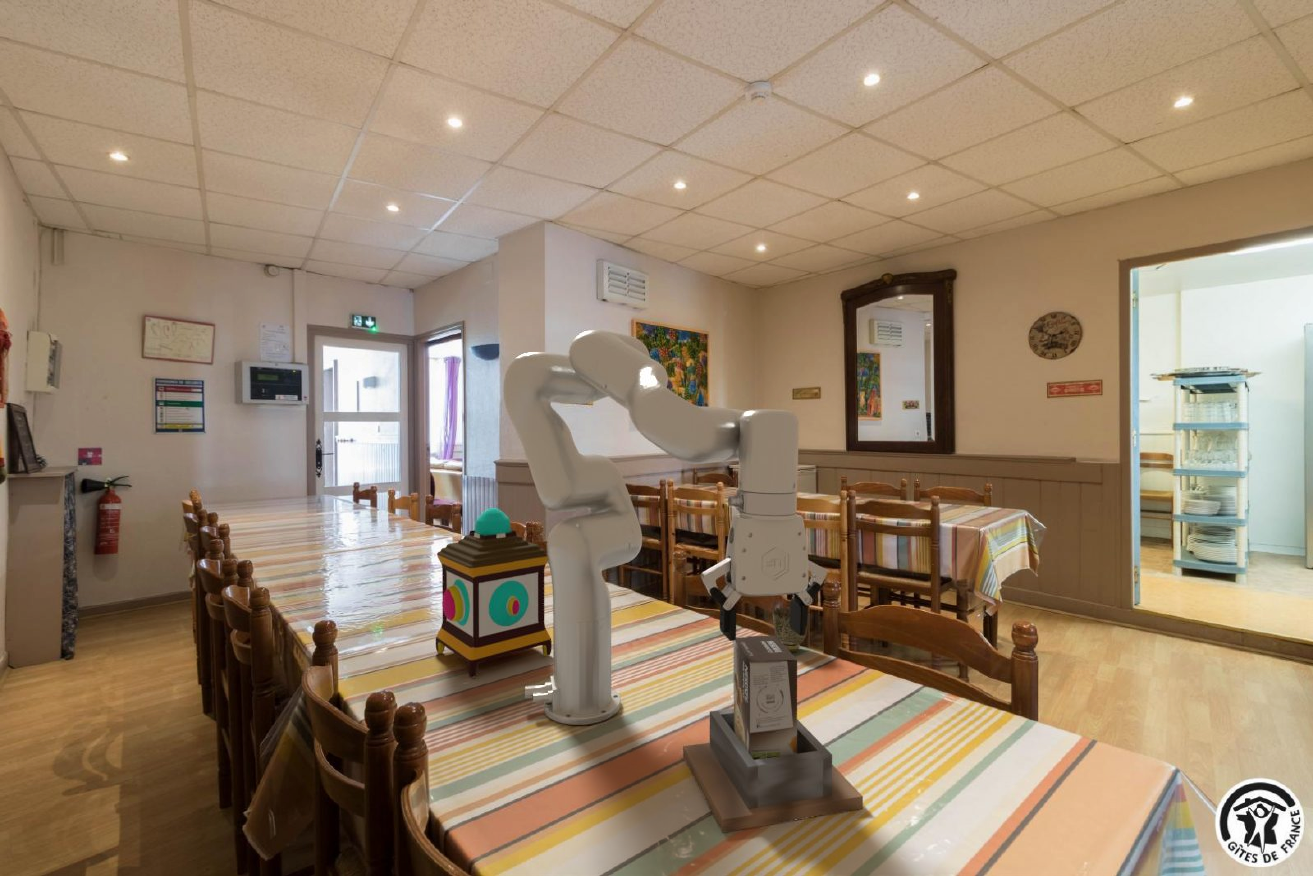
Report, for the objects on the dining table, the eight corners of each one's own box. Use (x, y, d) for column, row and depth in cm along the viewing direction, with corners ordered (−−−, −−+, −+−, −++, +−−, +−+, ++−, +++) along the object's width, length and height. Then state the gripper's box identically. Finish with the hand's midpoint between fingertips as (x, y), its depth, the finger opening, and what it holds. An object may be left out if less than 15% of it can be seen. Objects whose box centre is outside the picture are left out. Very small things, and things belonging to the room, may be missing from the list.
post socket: (722, 832, 67) (722, 776, 67) (683, 756, 83) (683, 710, 83) (862, 808, 72) (863, 755, 71) (800, 740, 87) (800, 697, 87)
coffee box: (799, 789, 73) (800, 660, 73) (748, 792, 72) (749, 662, 72) (775, 749, 82) (776, 634, 82) (731, 751, 81) (731, 636, 81)
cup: (809, 658, 118) (810, 618, 118) (772, 655, 120) (772, 616, 120) (807, 644, 126) (808, 607, 126) (772, 642, 127) (772, 605, 127)
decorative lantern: (466, 684, 106) (465, 518, 105) (425, 653, 121) (425, 507, 120) (561, 656, 119) (561, 508, 119) (514, 631, 134) (514, 499, 134)
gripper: (713, 510, 71) (710, 650, 71) (842, 507, 75) (838, 640, 76) (694, 501, 78) (691, 629, 79) (813, 499, 82) (809, 621, 83)
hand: (763, 634), depth 77 cm, fingers open, 9 cm apart
